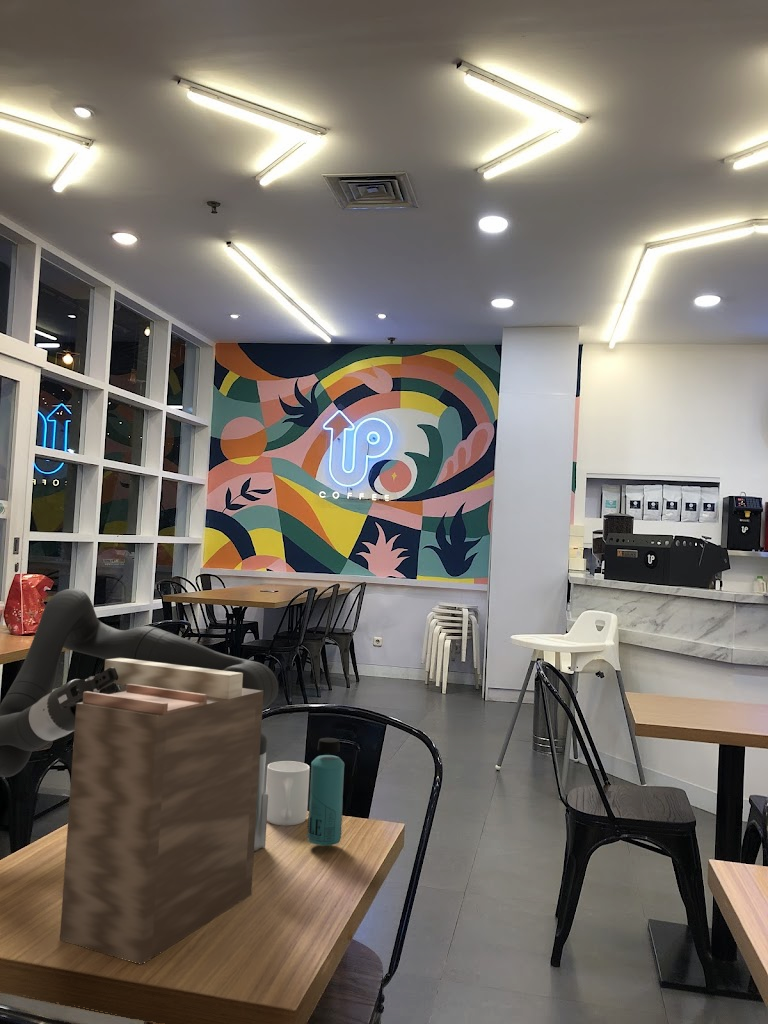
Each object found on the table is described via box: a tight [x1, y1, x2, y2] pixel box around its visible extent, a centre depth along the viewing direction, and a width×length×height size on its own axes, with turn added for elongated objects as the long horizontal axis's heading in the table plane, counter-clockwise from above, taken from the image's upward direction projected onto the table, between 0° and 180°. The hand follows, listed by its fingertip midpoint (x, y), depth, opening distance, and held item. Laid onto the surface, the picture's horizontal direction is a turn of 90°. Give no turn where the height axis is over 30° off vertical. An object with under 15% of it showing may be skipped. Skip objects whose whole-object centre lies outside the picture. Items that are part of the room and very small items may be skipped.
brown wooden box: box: [59, 684, 263, 964], centre depth 124 cm, size 14×26×33 cm, turn 156°
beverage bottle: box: [306, 737, 345, 846], centre depth 155 cm, size 6×7×20 cm
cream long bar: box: [103, 658, 243, 699], centre depth 131 cm, size 24×4×4 cm, turn 66°
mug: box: [265, 760, 311, 827], centre depth 168 cm, size 9×12×11 cm
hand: (134, 670), depth 134 cm, fingers open, 8 cm apart
